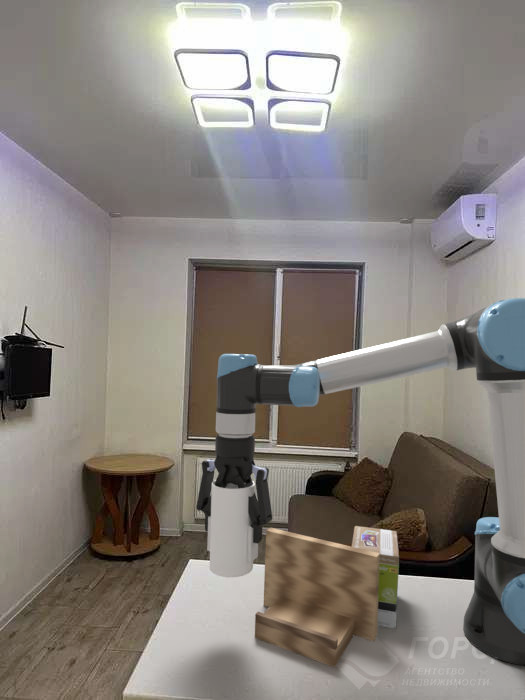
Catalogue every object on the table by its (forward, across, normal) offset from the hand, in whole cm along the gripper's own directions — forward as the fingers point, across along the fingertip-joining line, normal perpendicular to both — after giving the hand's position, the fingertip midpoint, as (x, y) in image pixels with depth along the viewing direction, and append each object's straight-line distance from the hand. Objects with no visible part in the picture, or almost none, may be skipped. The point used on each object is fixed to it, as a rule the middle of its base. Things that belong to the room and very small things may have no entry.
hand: (232, 553), depth 88 cm
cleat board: (+16, -12, -9) cm, 22 cm away
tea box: (+16, -20, -25) cm, 36 cm away
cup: (+3, 0, 0) cm, 3 cm away
